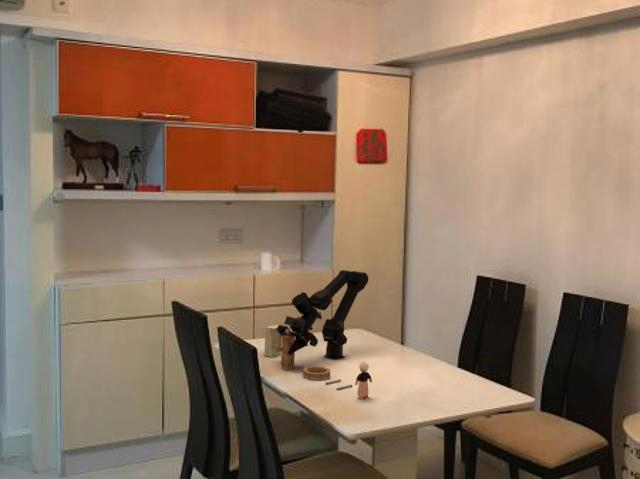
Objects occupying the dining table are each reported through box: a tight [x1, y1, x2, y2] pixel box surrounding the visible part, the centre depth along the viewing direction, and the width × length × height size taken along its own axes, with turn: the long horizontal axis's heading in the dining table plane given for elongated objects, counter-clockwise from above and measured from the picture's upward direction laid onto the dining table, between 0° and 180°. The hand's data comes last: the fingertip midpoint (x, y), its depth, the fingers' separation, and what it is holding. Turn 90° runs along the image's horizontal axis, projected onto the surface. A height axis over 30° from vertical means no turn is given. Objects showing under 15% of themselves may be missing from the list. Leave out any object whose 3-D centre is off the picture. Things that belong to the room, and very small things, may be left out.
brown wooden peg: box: [280, 332, 296, 372], centre depth 270 cm, size 4×4×15 cm
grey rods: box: [325, 379, 353, 391], centre depth 252 cm, size 8×8×1 cm
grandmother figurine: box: [354, 361, 373, 401], centre depth 238 cm, size 8×4×13 cm, turn 141°
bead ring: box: [302, 365, 331, 382], centre depth 262 cm, size 10×10×2 cm
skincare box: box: [263, 324, 282, 358], centre depth 289 cm, size 6×4×12 cm
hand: (285, 352), depth 269 cm, fingers closed on brown wooden peg, 4 cm apart
